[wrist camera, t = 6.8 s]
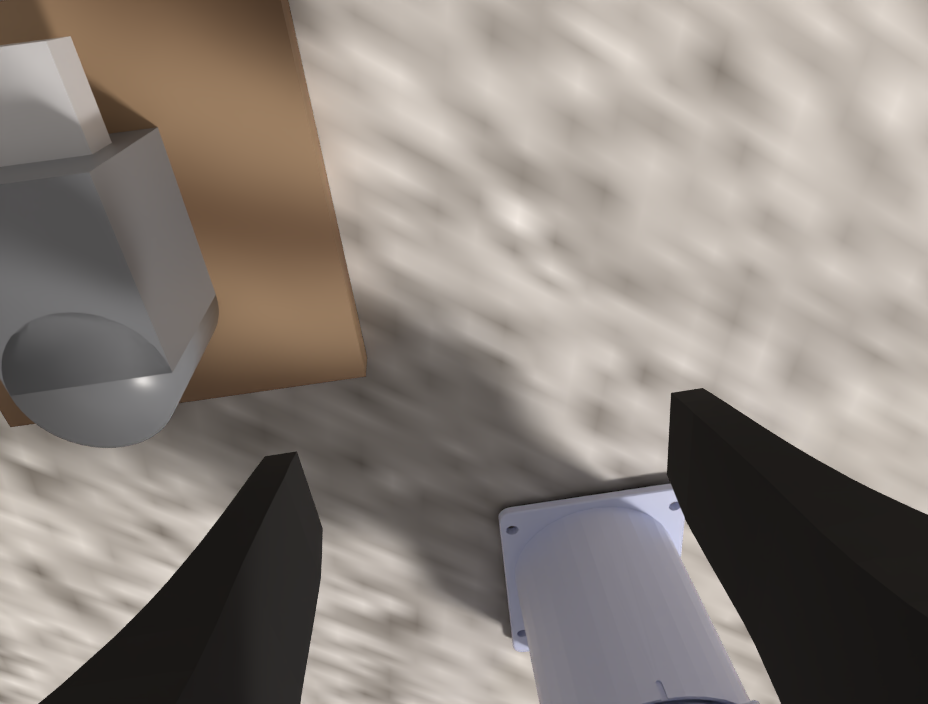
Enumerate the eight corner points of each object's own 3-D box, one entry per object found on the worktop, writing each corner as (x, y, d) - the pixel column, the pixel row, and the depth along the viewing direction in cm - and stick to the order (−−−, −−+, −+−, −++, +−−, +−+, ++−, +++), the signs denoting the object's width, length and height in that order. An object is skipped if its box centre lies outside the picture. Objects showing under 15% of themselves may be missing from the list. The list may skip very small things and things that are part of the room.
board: (367, 358, 23) (366, 376, 22) (27, 406, 22) (10, 426, 21) (280, -34, 17) (273, -34, 16) (-190, 26, 16) (-230, 30, 15)
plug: (234, 349, 21) (198, 436, 17) (111, 367, 21) (46, 457, 17) (123, 27, 16) (35, 45, 12) (-40, 48, 16) (-180, 73, 12)
